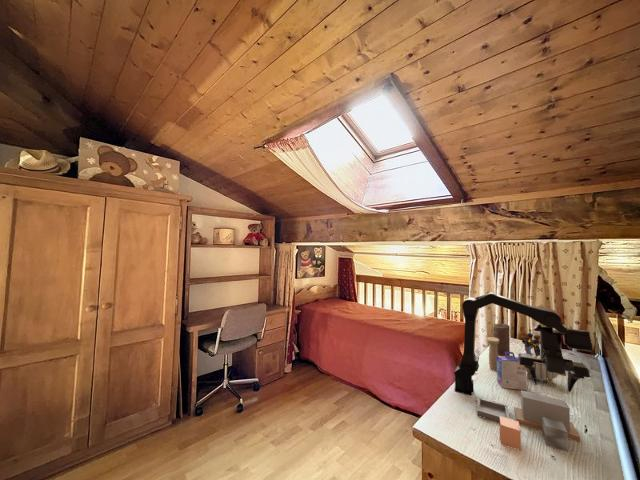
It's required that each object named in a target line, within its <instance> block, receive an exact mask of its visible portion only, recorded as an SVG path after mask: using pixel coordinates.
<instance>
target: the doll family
mask: <svg viewBox="0 0 640 480" xmlns="http://www.w3.org/2000/svg"><path fill="white" fill-rule="evenodd" d="M526 334H527V335H521V338H522V339H521V342H522V344H524V351H525V354H531V355H532V356H533V355H536V356H541V355H540V354H541V347H540V334H535V335H534V334H533V333H532V332H529V333H526ZM532 350H533V352H534V354H533V353H532Z"/></svg>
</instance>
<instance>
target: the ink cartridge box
mask: <svg viewBox="0 0 640 480" xmlns="http://www.w3.org/2000/svg"><path fill="white" fill-rule="evenodd" d="M509 353H510V355H507V354H509ZM496 357H497V370H496V372H497V374H496V376H497V377H496V378H497V384H498V385H499V386H500V388H501V389H502V388H503V389H511V390H513V389H514V390H520V391H521V390H522V391H527V389H528V386H527V383H528V382H527V381H528V380H527V379H528V378H527V371H526V367H524V365H521V364H520V362H519V359H518V356H515V353H514V352H513V351H510V352H505V356H496Z"/></svg>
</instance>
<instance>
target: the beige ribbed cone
mask: <svg viewBox="0 0 640 480" xmlns="http://www.w3.org/2000/svg"><path fill="white" fill-rule="evenodd" d="M532 358H537V359H541V356H536V354H533V355H532ZM533 366H534V368H535V375H536V380H538V381H543V382H547V384H548V385H549V386H553V385H552V384H553V382H554V379H557V377H558V376H562V377H563V376H564V377H566V376H567V373H566V372H565V374H564V375H563V374H560V373H555V372H553V373H552V372H549V371H547V369H546V366H545V365H540V364H534V365H533ZM531 377H532V375H531V372H530V371H529V369H528V368H526V379H528V380H531Z"/></svg>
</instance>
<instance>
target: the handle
mask: <svg viewBox="0 0 640 480" xmlns="http://www.w3.org/2000/svg"><path fill="white" fill-rule="evenodd" d="M486 339H487V342H488V344H489V347H488V364H489V369H491V370H493V371H497V357H496V356H498V351H497V344H499V339H498V338H494V337H493V336H489V337H487V338H486Z"/></svg>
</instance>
